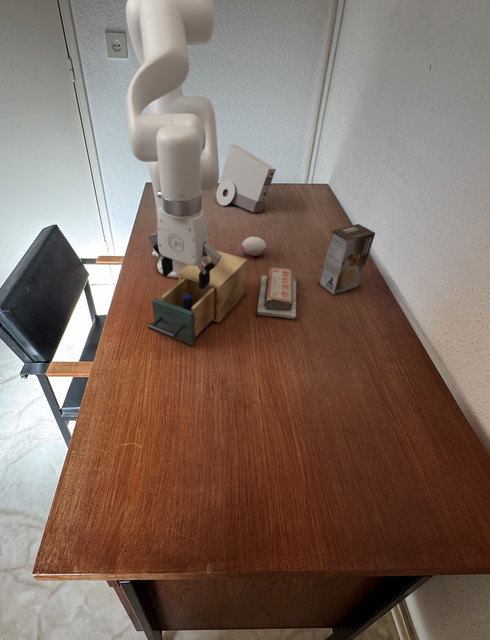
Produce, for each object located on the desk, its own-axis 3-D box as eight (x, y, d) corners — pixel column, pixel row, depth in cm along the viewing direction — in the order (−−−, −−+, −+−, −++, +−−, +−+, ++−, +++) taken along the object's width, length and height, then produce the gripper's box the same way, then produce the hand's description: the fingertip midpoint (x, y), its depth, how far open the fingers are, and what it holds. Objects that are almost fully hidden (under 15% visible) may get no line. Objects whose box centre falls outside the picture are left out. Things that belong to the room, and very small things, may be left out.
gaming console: (210, 200, 148) (218, 142, 136) (223, 199, 152) (232, 143, 140) (252, 218, 136) (265, 157, 124) (265, 217, 141) (279, 157, 128)
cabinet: (218, 322, 93) (219, 286, 86) (180, 308, 97) (177, 273, 90) (244, 294, 102) (247, 259, 95) (208, 282, 106) (208, 248, 98)
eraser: (193, 321, 90) (192, 298, 85) (184, 322, 90) (182, 298, 85) (193, 316, 92) (192, 293, 87) (184, 316, 92) (182, 293, 87)
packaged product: (262, 264, 104) (298, 267, 103) (261, 279, 108) (295, 282, 107) (258, 300, 92) (298, 304, 91) (256, 316, 95) (295, 320, 94)
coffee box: (343, 276, 109) (359, 222, 98) (358, 287, 105) (377, 232, 94) (318, 284, 106) (332, 229, 95) (333, 295, 102) (349, 240, 91)
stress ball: (263, 262, 121) (266, 240, 120) (264, 259, 113) (268, 236, 112) (240, 259, 121) (243, 238, 120) (240, 256, 113) (243, 233, 112)
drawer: (181, 357, 83) (178, 326, 77) (144, 342, 87) (138, 311, 80) (220, 315, 94) (221, 285, 88) (186, 302, 98) (184, 273, 91)
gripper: (133, 199, 71) (144, 276, 84) (210, 221, 66) (210, 300, 79) (156, 186, 76) (163, 261, 88) (230, 206, 70) (227, 282, 83)
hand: (185, 279), depth 83 cm, fingers open, 9 cm apart
